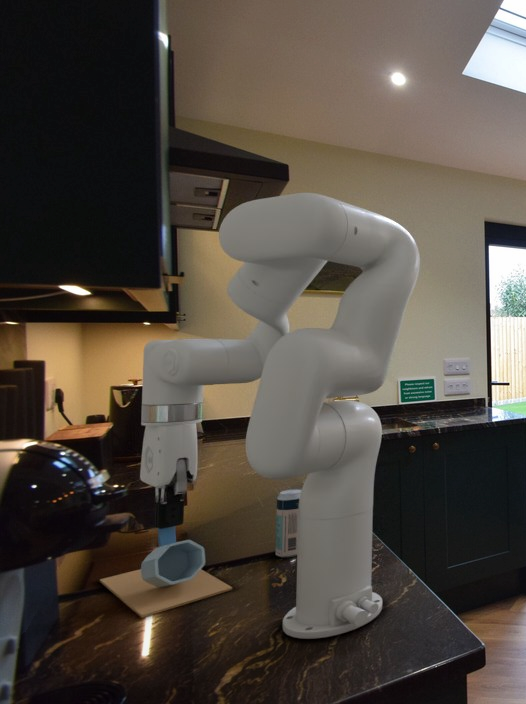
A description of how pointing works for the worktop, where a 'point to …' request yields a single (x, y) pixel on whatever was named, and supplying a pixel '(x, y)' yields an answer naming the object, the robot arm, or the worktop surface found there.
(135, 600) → the cork mat
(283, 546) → the white labelled bottle
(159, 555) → the pale-blue faceted part
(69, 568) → the worktop surface
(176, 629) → the worktop surface
